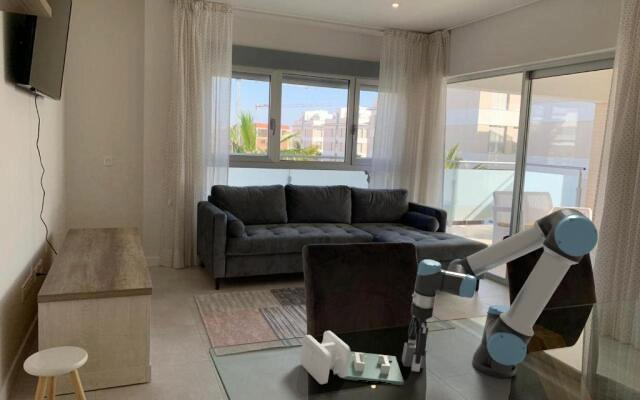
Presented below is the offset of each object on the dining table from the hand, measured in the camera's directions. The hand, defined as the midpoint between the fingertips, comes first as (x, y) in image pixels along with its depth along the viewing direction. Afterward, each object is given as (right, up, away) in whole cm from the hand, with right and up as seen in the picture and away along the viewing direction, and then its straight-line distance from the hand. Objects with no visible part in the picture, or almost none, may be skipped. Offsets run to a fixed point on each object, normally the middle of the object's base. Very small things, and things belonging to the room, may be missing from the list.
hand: (412, 363), depth 174 cm
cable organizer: (-32, +1, -13) cm, 34 cm away
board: (-16, 0, -7) cm, 17 cm away
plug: (0, 0, 0) cm, 0 cm away
